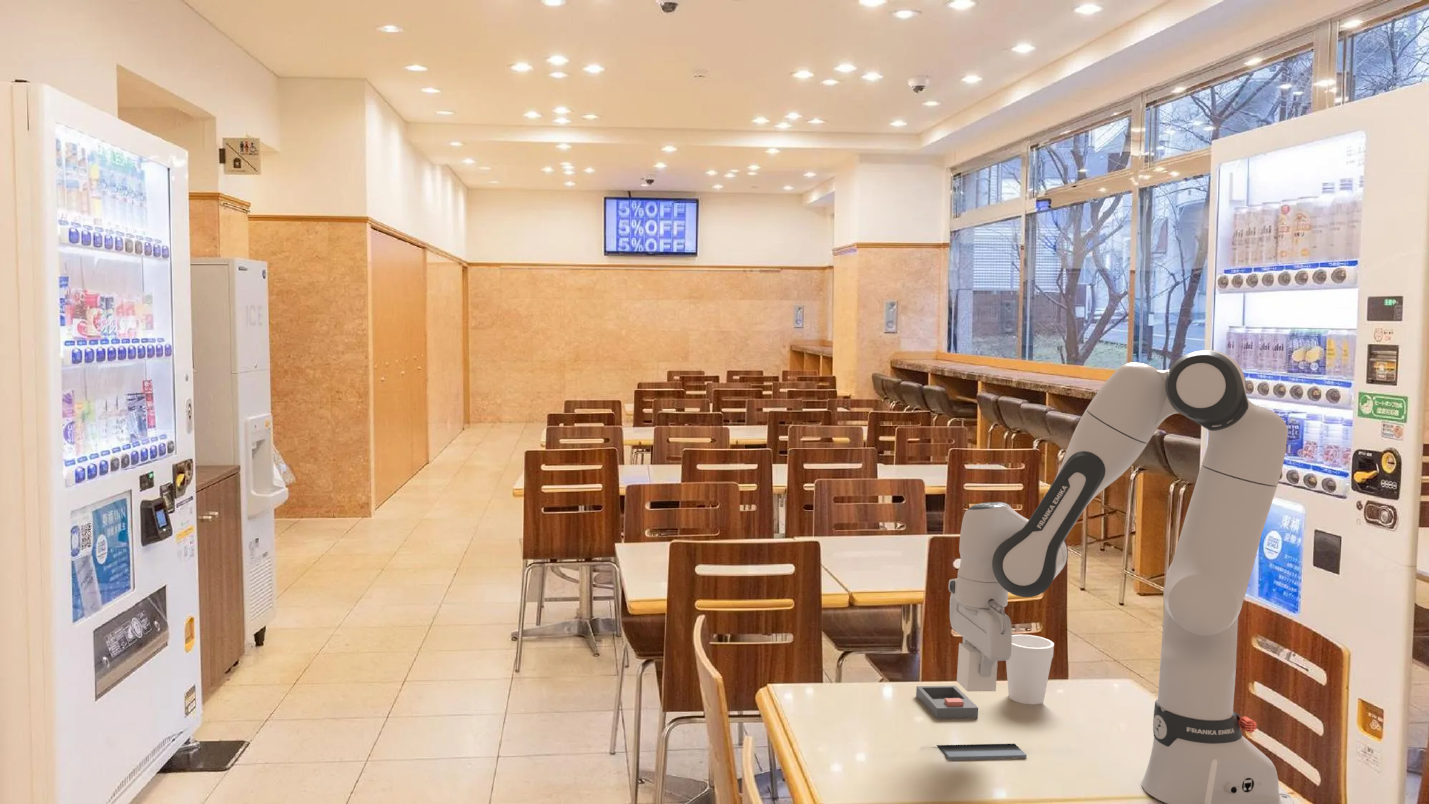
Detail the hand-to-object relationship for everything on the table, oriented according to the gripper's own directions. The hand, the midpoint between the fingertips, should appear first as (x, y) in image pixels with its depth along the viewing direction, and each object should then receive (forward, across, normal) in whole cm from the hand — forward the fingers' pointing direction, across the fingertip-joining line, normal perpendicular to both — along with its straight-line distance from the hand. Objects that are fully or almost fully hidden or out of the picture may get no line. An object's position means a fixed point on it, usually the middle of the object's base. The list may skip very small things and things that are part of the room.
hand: (977, 669), depth 185 cm
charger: (+3, 0, 0) cm, 3 cm away
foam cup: (+14, +19, -18) cm, 30 cm away
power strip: (+14, +15, 0) cm, 20 cm away
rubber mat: (+14, 0, 0) cm, 14 cm away
